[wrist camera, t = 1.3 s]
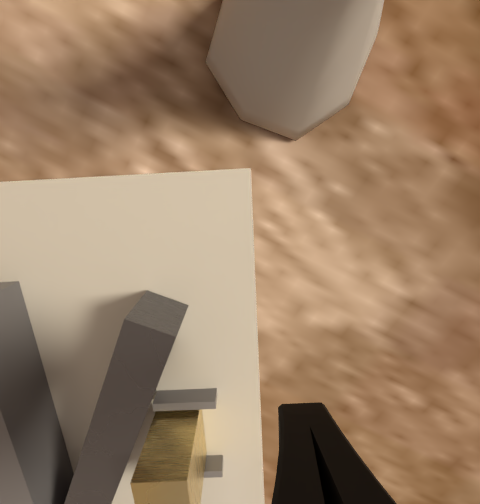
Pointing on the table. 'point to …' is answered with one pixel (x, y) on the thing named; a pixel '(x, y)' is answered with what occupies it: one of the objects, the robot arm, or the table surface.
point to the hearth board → (113, 314)
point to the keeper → (171, 460)
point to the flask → (291, 58)
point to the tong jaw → (125, 397)
